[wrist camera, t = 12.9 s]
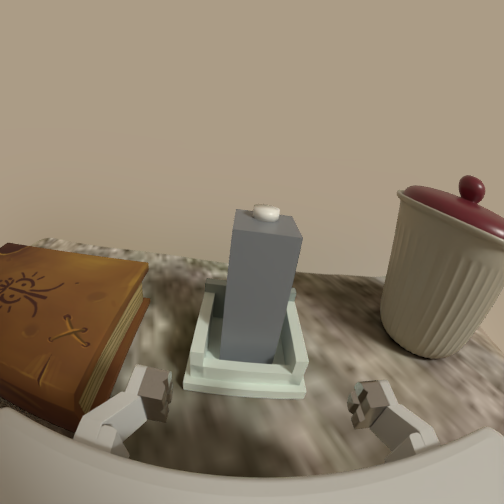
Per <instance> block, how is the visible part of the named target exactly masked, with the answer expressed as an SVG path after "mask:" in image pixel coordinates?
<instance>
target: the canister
mask: <svg viewBox="0 0 504 504" xmlns="http://www.w3.org/2000/svg"><path fill="white" fill-rule="evenodd" d="M459 192H460V195H461V197H458V196H456V195H453V194H450V193H447V192H444V191H441V190H437V189H433V188H429V187H424V186H410V187H408V188H407V189H406V190H405V191H403V190H398V191H397V196H398V197H399V198H400V200H401V201H400V208H399V213H398V219H397V225H396V230H395V236H394V242H393V246H392V252H391V256H390V261H389V265H388V270H387V274H386V279H385V284H384V288H383V292H382V297H381V303H380V316H381V321H382V323H383V326H384V328H385V329H386V331H387V333H388V334H389V335H390V337H391V338H393V339H394V340H395V342H396V343H398V344H399V345H400V346H401V347H404V348H405V349H406V350H408V351H410V352H412V353H413V354H417V355H418V356H423V357H425V358H430V359H434V358H435V359H440V358H446V357H449V356H451V355H453V354H455V353H456V352H458V351H459V350H460V349H461V348H462V347H463V346H464V345H465V344H466V343H467V341H468V340H469V339H470V338H471V336H472V335H473V334H474V332H475V331H476V330H477V328H478V327H479V326H480V324H481V323H482V321H483V320H484V318H485V317H486V315H487V314H488V312H489V311H490V309H491V307H492V306H493V304H494V303H495V301H496V299H497V298H498V296H499V294H500V292H501V291H502V289H503V287H504V218H502V217H501V216H499V215H497V214H495V213H494V212H492V211H490V210H488V209H486V208H484V207H482V206H480V205H478V204H477V203H479V202H480V201H481V200H482V199H483V197H484V195H485V187H484V185H483V183H482V181H481V180H479V179H477V178H475V177H473V176H469V175H467V176H464V177H462V178H461V180H460V182H459Z"/></svg>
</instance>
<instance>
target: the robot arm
mask: <svg viewBox="0 0 504 504" xmlns="http://www.w3.org/2000/svg"><path fill="white" fill-rule="evenodd" d="M171 378H172V373H171V371H167V370H162V369H157V368H153V367H148V366H144V365H139V364H137V365H136V366H135V367H134V370H133V372H132V374H131V377H130V379H129V382H128V384H127V387H126V390H125V392H122V391H121V392H120V393H118V394H117V395H115V396H114V397H112V398H111V399H109V400H107V401H106V402H104V403H103V404H101V405H100V406H98V407H96V408H95V409H93V410H92V411H90V412H88V413H87V414H85V415H84V416H83V417H82V419H81V421H80V423H79V426H78V428H77V430H76V433H75V435H74V438H73V439H71V438H68V437H66V436H64V435H62V434H59V433H57V432H55V431H53V430H51V429H49V428H47V427H45V426H43V425H41V424H39V423H37V422H35V421H33V420H31V419H30V418H28V417H26V416H24V415H23V414H21V413H19V412H18V411H16V410H14V409H12V408H10V407H4V408H0V504H504V436H503V435H501V434H500V433H499V432H497V431H496V430H494V429H492V428H490V427H488V426H486V427H482V428H480V429H478V430H476V431H474V432H472V433H470V434H468V435H466V436H463V437H461V438H459V439H457V440H454V441H452V442H449V443H447V444H444V445H442V446H441V445H440V442H439V440H438V438H437V436H436V433H435V431H434V429H433V427H432V426H430V425H429V424H427V423H426V422H425V421H423V420H422V419H421V418H419V417H418V416H417V415H415V414H414V413H412V412H411V411H410V410H408V409H407V408H406V407H404V406H403V405H402V404H398V402H397V399H396V397H395V395H394V393H393V391H392V388H391V386H390V384H389V382H388V381H387V380H377V381H376V380H375V381H363V382H358V383H356V385H355V386H354V388H355V390H354V391H353V392H351V393H350V395H349V397H348V401H347V407H348V410H349V412H350V413H352V414H353V415H352V417H351V421H352V424H353V427H354V429H363V428H369V429H370V430H371V431H372V432H373V433H374V434H375V435H376V436H377V437H378V438H379V439H380V440H381V441H382V442H383V443H384V444H385V445H386V446H387V447H388V448H389V449H390V450H391V451H392V452H391V453H390V454H389V455H388V456H387V457H386V458H385V459H384V460H385V463H384V464H380V465H376V466H371V467H366V468H361V469H356V470H350V471H344V472H338V473H330V474H322V475H312V476H299V477H275V478H257V477H233V476H220V475H210V474H201V473H194V472H187V471H181V470H175V469H170V468H165V467H160V466H155V465H151V464H147V463H143V462H139V461H135V460H131V459H129V455H130V454H129V453H128V451H127V449H126V447H125V446H124V444H123V441H124V440H126V439H127V438H128V437H129V436H130V435H131V434H132V433H133V432H135V431H136V430H137V429H138V428H139V427H140V426H141V425H142V424H144V423H145V422H146V421H147V419H148V420H153V421H159V422H164V423H166V421H167V417H168V413H169V408H168V404H170V403H171V400H172V393H173V383H172V382H171Z"/></svg>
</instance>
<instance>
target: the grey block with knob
mask: <svg viewBox="0 0 504 504" xmlns="http://www.w3.org/2000/svg"><path fill="white" fill-rule="evenodd" d="M279 213H280V209H279V208H277V207H274V206H271V205H264V204H258V205H254V209H253V211H248V210H240V209H236V213H235V220H234V225H233V231H232V240H231V249H230V257H229V266H228V276H227V285H226V295H225V305H224V315H223V325H222V335H221V346H220V357H219V360H228V361H238V362H249V363H261V364H272V363H273V360H274V356H275V352H276V348H277V345H278V341H279V337H280V333H281V329H282V325H283V321H284V318H285V314H286V309H287V305H288V301H289V297H290V293H291V289H292V285H293V280H294V276H295V272H296V267H297V263H298V258H299V254H300V249H301V244H302V240H303V237H302V235H301V233H300V231H299V229H298V227H297V225H296V223H295V221H294V220H293V218H292V216H285V215H279Z"/></svg>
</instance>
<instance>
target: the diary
mask: <svg viewBox="0 0 504 504" xmlns="http://www.w3.org/2000/svg"><path fill="white" fill-rule="evenodd" d="M148 270H149V268H148V263H146V262H138V261H130V260H123V259H115V258H108V257H100V256H93V255H86V254H79V253H72V252H65V251H58V250H51V249H44V248H38V247H32V246H25V245H19V244H13V243H7V244H5V245H4V246H2V247H1V248H0V396H1V397H2V398H4V399H6V400H7V401H9V402H11V403H13V404H14V405H16V406H18V407H20V408H22V409H24V410H26V411H27V412H29V413H31V414H33V415H35V416H38V417H40V418H42V419H44V420H46V421H48V422H50V423H53V424H55V425H57V426H60V427H62V428H64V429H67V430H69V431H72V432H75V433H76V430H77V428H78V426H79V423H80V421H81V419H82V417H83V416H84V415H85V414H87V413H88V412H90V411H92V410H93V409H95V408H96V407H98V406H100V405H101V404H103V403H104V402H106V401H107V400H109V397H110V395H111V392H112V390H113V387H114V385H115V382H116V379H117V377H118V374H119V372H120V370H121V367H122V365H123V362H124V360H125V357H126V355H127V353H128V350H129V348H130V346H131V343H132V341H133V339H134V337H135V334H136V332H137V330H138V328H139V325H140V323H141V321H142V319H143V317H144V314H145V312H146V310H147V308H148V306H149V304H150V298H143V293H142V280H143V279H144V277H145V275H146V274H147V272H148Z"/></svg>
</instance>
